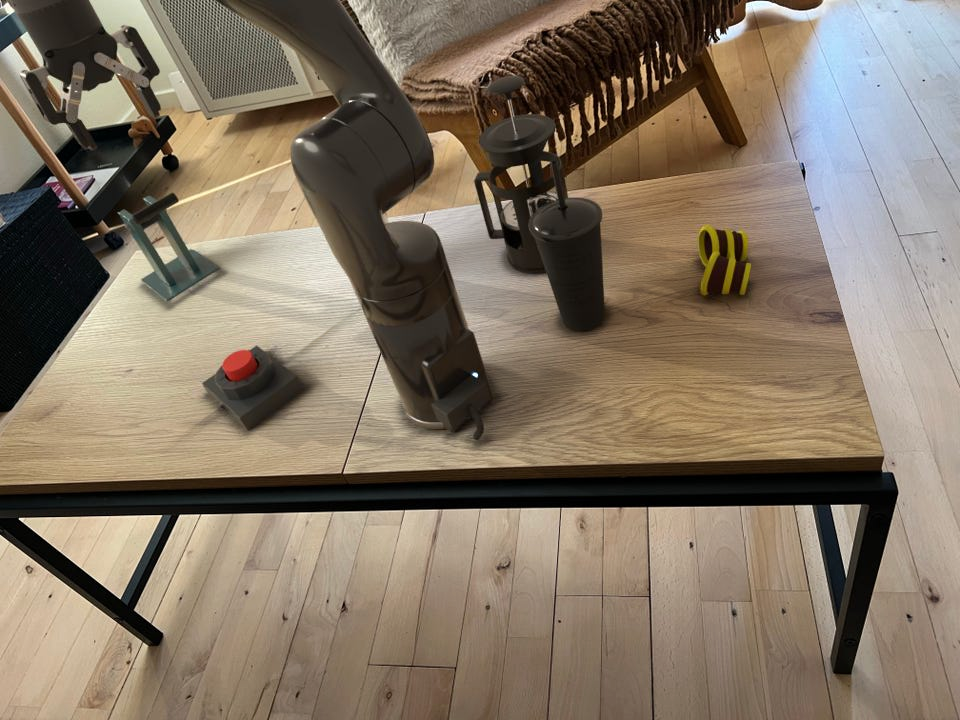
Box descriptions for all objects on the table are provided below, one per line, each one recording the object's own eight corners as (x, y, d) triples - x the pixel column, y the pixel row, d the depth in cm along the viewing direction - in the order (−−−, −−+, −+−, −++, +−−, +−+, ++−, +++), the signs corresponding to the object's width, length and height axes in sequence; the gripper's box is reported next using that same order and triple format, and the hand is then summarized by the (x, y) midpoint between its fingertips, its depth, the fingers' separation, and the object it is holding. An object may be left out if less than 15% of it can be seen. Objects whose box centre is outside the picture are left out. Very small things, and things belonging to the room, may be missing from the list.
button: (263, 367, 90) (257, 356, 89) (237, 386, 89) (230, 375, 88) (249, 356, 93) (242, 345, 92) (223, 374, 91) (216, 363, 90)
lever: (181, 204, 103) (170, 188, 102) (141, 227, 101) (130, 211, 100) (167, 216, 113) (157, 201, 113) (131, 237, 111) (120, 222, 110)
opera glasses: (747, 307, 85) (756, 270, 82) (697, 303, 86) (704, 267, 82) (741, 255, 92) (749, 219, 89) (695, 252, 93) (701, 216, 89)
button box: (304, 389, 91) (291, 364, 89) (247, 431, 88) (232, 406, 86) (263, 358, 98) (250, 334, 95) (209, 395, 95) (194, 372, 92)
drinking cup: (584, 349, 85) (552, 191, 72) (537, 323, 90) (500, 171, 77) (632, 312, 88) (609, 153, 75) (584, 289, 93) (555, 136, 80)
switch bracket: (222, 273, 116) (181, 199, 108) (170, 306, 113) (123, 233, 104) (194, 254, 123) (153, 183, 115) (144, 285, 119) (98, 214, 111)
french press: (589, 228, 102) (559, 56, 87) (578, 272, 96) (544, 94, 81) (503, 233, 106) (461, 70, 91) (487, 276, 100) (439, 107, 85)
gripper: (-7, 26, 80) (81, 166, 91) (117, -27, 86) (187, 111, 96) (-24, 19, 85) (61, 153, 96) (95, -30, 91) (163, 101, 101)
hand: (124, 131), depth 96 cm, fingers open, 8 cm apart
